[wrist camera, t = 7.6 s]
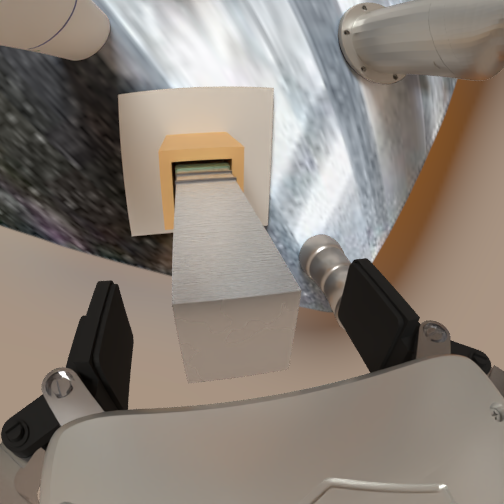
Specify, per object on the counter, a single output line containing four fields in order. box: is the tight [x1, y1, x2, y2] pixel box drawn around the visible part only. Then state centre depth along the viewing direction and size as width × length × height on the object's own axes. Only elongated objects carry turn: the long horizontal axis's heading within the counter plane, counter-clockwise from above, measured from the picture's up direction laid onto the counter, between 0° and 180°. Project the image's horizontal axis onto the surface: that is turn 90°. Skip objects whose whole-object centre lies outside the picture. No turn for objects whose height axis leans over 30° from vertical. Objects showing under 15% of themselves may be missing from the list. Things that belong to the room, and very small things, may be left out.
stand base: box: [118, 87, 274, 236], centre depth 29 cm, size 18×18×13 cm
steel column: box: [172, 159, 301, 383], centre depth 19 cm, size 4×4×22 cm
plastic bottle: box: [299, 234, 351, 331], centre depth 37 cm, size 6×7×20 cm
